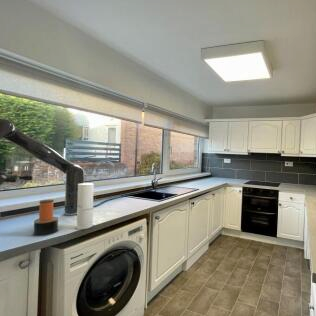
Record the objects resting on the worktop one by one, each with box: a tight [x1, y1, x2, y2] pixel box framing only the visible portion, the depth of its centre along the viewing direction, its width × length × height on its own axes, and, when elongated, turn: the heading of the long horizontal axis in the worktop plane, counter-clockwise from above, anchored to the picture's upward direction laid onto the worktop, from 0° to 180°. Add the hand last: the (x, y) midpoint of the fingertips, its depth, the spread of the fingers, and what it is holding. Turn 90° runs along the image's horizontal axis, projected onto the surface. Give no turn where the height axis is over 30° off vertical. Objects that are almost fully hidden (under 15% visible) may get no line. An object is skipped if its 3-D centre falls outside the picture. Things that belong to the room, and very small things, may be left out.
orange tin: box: [38, 198, 55, 221], centre depth 103 cm, size 5×5×10 cm
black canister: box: [33, 216, 59, 237], centre depth 103 cm, size 9×9×7 cm
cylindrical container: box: [76, 182, 95, 230], centre depth 113 cm, size 7×7×25 cm
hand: (24, 179), depth 102 cm, fingers open, 8 cm apart
